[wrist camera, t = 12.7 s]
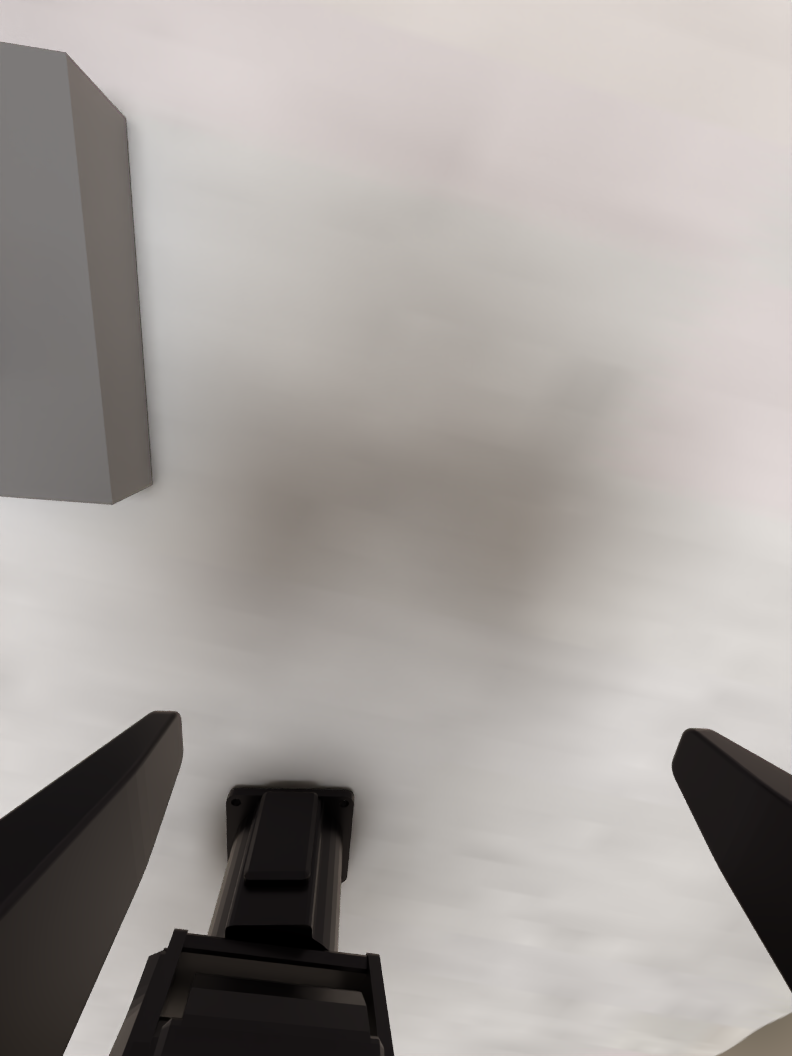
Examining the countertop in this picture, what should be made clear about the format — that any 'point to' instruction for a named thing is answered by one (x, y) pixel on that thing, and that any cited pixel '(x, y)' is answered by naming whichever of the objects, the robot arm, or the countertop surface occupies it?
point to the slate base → (67, 289)
